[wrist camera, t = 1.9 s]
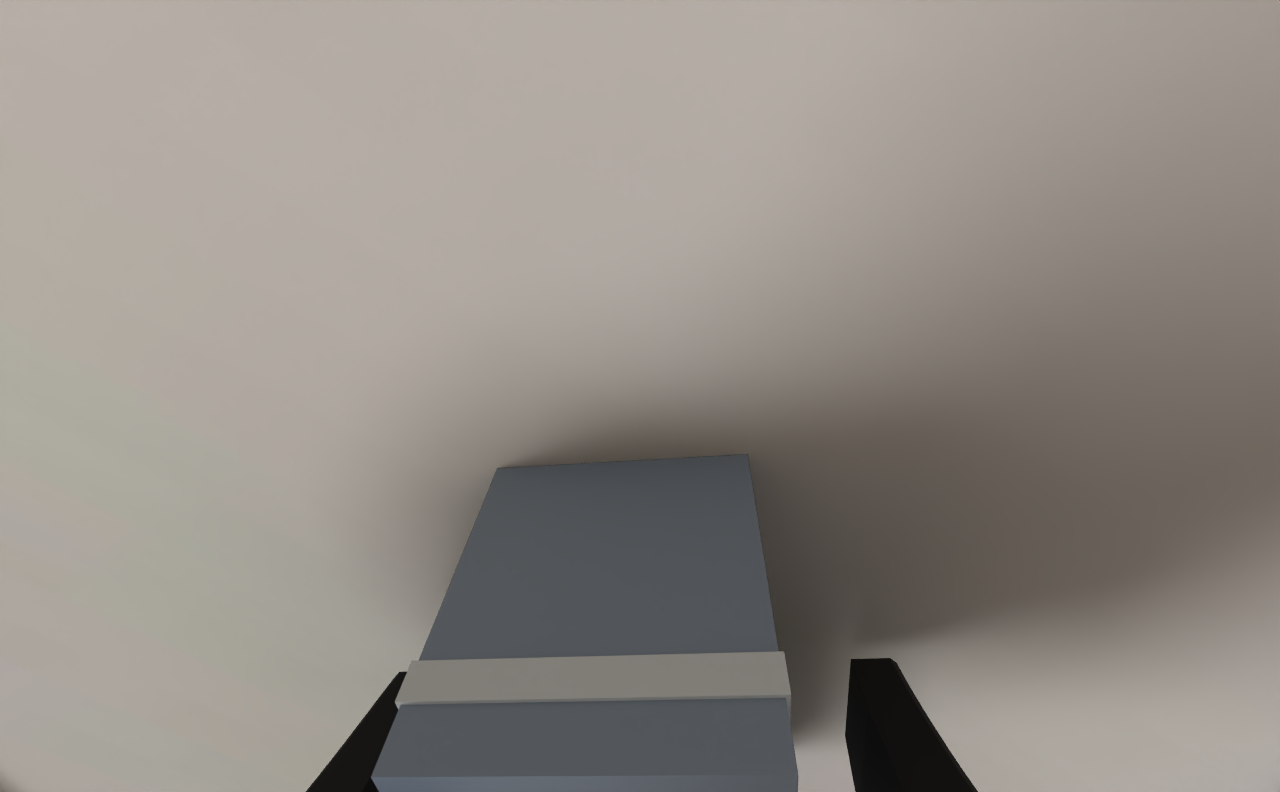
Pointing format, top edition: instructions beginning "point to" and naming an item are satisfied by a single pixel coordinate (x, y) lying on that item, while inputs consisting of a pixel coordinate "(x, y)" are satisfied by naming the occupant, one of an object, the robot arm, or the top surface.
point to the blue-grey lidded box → (602, 641)
